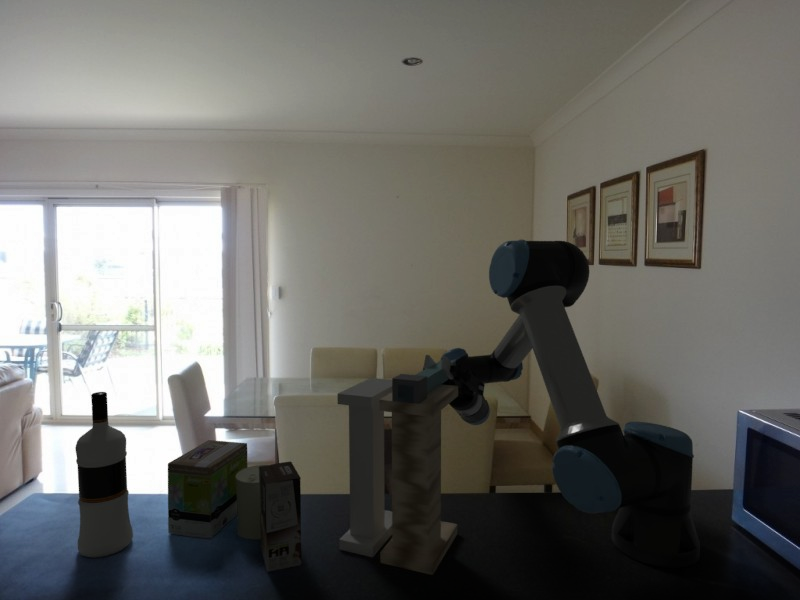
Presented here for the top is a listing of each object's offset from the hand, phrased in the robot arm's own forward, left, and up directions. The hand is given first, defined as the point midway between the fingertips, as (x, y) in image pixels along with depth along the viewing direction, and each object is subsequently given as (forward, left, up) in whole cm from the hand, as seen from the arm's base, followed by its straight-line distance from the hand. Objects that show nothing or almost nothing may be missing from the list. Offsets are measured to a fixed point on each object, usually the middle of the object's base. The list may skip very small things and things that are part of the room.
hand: (435, 362), depth 106 cm
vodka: (+56, +31, -34) cm, 73 cm away
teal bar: (0, +3, -4) cm, 5 cm away
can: (+33, +14, -34) cm, 50 cm away
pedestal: (0, +8, -34) cm, 35 cm away
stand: (+10, +8, -34) cm, 37 cm away
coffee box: (+23, +21, -34) cm, 46 cm away
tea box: (+45, +15, -35) cm, 59 cm away
